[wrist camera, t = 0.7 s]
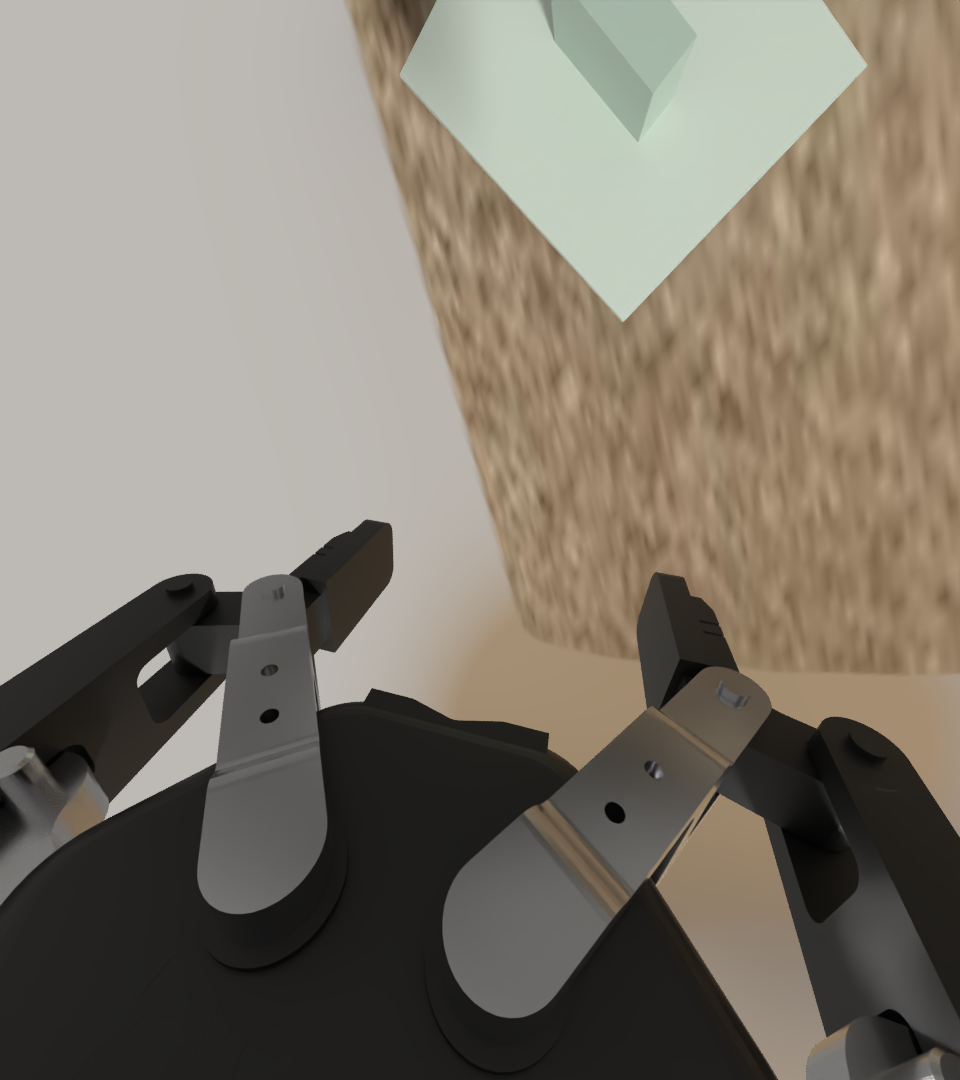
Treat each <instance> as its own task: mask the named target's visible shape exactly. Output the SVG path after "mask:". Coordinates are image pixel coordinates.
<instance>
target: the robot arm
mask: <svg viewBox="0 0 960 1080" xmlns="http://www.w3.org/2000/svg"><path fill="white" fill-rule="evenodd" d="M392 572H393V538H392V527H391V525H390V524H389V523H384V522H378V521H373V520H365V521H363V522H362V523H361V524H360V525H359V526H358V527H357V528H355V529H354V530H353V531H352V532H349V531H348V532H345V533H343V534H341V535H338V536H336V537H334V538H332V539H331V540H330V541H329V542H328V543H326V544H325V545H324V547H323V548H320V549H319V550H318V551H317V552H316V554H313V555H312V556H311V557H310V558H308V559H307V560H306V561H305V562H304V563H302V564H301V565H300V566H299V567H298V568H297V569H295V570H294V571H293V572H292V573H290V574H289V575H283V574H281V575H271V576H266V577H263V578H260V579H258V580H256V581H254V582H252V583H250V584H249V585H248V586H247V587H246V588H245V589H244V591H243V592H215V588H214V585H213V581H212V579H211V578H209V577H208V576H206V575H202V574H185V575H179V576H175V577H172V578H169V579H166V580H164V581H161V582H159V583H158V584H156V585H154V586H153V587H151V588H150V589H148V590H147V591H145V592H144V593H142V594H141V595H139V596H138V597H136V598H134V599H133V600H131V601H130V602H128V603H127V604H125V605H124V606H122V607H121V608H119V609H118V610H116V611H115V612H113V613H111V614H110V615H108V616H107V617H105V618H104V619H102V620H101V621H99V622H98V623H96V624H95V625H93V626H91V627H90V628H88V629H87V630H85V631H84V632H82V633H81V634H79V635H78V636H76V637H75V638H73V639H72V640H70V641H68V642H67V643H65V644H64V645H63V646H61V647H59V648H58V649H56V650H55V651H53V652H52V653H50V654H49V655H47V656H45V657H44V658H43V659H41V660H39V661H38V662H36V663H35V664H33V665H32V666H30V667H29V668H27V669H26V670H24V671H23V672H21V673H19V674H18V675H16V676H15V677H13V678H12V679H11V680H9V681H7V682H6V683H4V684H3V685H1V686H0V1080H778V1079H777V1077H776V1075H775V1074H774V1072H773V1070H772V1069H771V1067H770V1066H769V1064H768V1062H767V1061H766V1059H765V1057H764V1056H763V1054H762V1053H761V1051H760V1050H759V1048H758V1047H757V1045H756V1043H755V1042H754V1040H753V1039H752V1037H751V1035H750V1034H749V1032H748V1031H747V1029H746V1027H745V1026H744V1025H743V1023H742V1021H741V1020H740V1018H739V1017H738V1015H737V1013H736V1012H735V1010H734V1009H733V1007H732V1006H731V1004H730V1002H729V1001H728V999H727V998H726V996H725V995H724V993H723V991H722V990H721V988H720V986H719V985H718V983H717V982H716V980H715V979H714V977H713V975H712V974H711V972H710V971H709V969H708V968H707V966H706V964H705V963H704V961H703V960H702V958H701V956H700V955H699V953H698V952H697V950H696V949H695V947H694V945H693V944H692V942H691V941H690V939H689V938H688V936H687V934H686V933H685V931H684V930H683V928H682V927H681V925H680V923H679V922H678V920H677V919H676V917H675V916H674V914H673V913H672V911H671V909H670V908H669V906H668V904H667V903H666V901H665V900H664V898H663V897H662V895H661V894H660V892H659V890H658V889H657V886H658V884H659V883H660V882H661V880H662V879H663V877H664V876H665V874H666V873H667V871H668V870H669V868H670V867H671V865H672V864H673V862H674V860H675V859H676V857H677V856H678V854H679V853H680V851H681V850H682V849H683V847H684V846H685V844H686V843H687V841H688V840H689V839H690V837H691V836H692V834H693V833H694V832H695V830H696V829H697V827H698V826H699V824H700V823H701V822H702V820H703V819H704V817H705V816H706V815H707V813H708V812H709V810H710V809H711V808H712V806H713V805H714V803H715V802H716V801H717V799H718V798H719V796H720V795H723V796H725V797H727V798H728V799H730V800H732V801H734V802H736V803H738V804H739V805H741V806H743V807H745V808H747V809H749V810H751V811H752V812H754V813H756V814H758V815H760V816H762V817H763V818H764V820H765V824H766V827H767V831H768V834H769V838H770V841H771V845H772V848H773V852H774V855H775V859H776V862H777V866H778V869H779V873H780V876H781V880H782V883H783V887H784V890H785V893H786V897H787V901H788V904H789V908H790V911H791V915H792V918H793V921H794V925H795V929H796V932H797V935H798V939H799V942H800V946H801V949H802V953H803V957H804V960H805V963H806V966H807V970H808V974H809V977H810V981H811V984H812V987H813V991H814V995H815V998H816V1002H817V1005H818V1009H819V1012H820V1016H821V1019H822V1023H823V1026H824V1030H825V1033H826V1037H827V1038H826V1039H824V1040H822V1041H821V1042H819V1043H818V1044H816V1045H815V1046H814V1047H813V1048H812V1050H811V1051H810V1054H809V1056H808V1060H807V1065H806V1080H960V837H959V836H958V834H957V833H956V831H955V830H954V828H953V827H952V825H951V823H950V822H949V820H948V819H947V817H946V816H945V814H944V813H943V811H942V810H941V808H940V807H939V805H938V804H937V802H936V801H935V799H934V798H933V796H932V795H931V793H930V792H929V790H928V789H927V787H926V785H925V784H924V782H923V781H922V780H921V778H920V776H919V775H918V773H917V772H916V770H915V769H914V767H913V766H912V764H911V763H910V761H909V760H908V759H907V757H906V756H905V754H904V753H903V752H902V751H901V750H900V749H899V748H898V747H897V746H895V744H893V743H892V742H891V741H890V740H888V739H887V738H886V737H885V736H883V735H882V734H880V733H879V732H877V731H875V730H873V729H872V728H870V727H868V726H866V725H864V724H862V723H859V722H857V721H854V720H851V719H847V718H842V717H829V718H826V719H824V720H823V721H822V723H821V724H820V725H819V727H818V728H817V729H816V728H814V727H811V726H809V725H807V724H805V723H802V722H800V721H798V720H795V719H793V718H791V717H789V716H786V715H784V714H782V713H780V712H778V711H776V710H774V709H772V706H771V702H770V700H769V697H768V696H767V694H766V693H765V691H764V690H763V689H762V688H761V687H760V686H759V685H758V684H757V683H755V682H754V681H753V680H751V679H750V678H748V677H747V676H745V675H743V674H741V673H739V670H738V668H737V665H736V663H735V661H734V658H733V656H732V653H731V651H730V649H729V646H728V644H727V642H726V639H725V638H724V637H723V636H724V634H723V632H722V630H721V627H719V623H718V620H717V618H716V615H715V613H714V611H713V610H712V609H711V608H710V607H709V606H708V605H707V604H706V603H705V602H704V601H703V600H702V599H701V598H698V597H693V596H690V593H689V590H688V587H687V584H686V582H685V579H684V578H683V577H680V576H674V575H669V574H663V573H658V572H655V573H654V574H653V576H652V578H651V581H650V584H649V587H648V590H647V593H646V596H645V599H644V602H643V605H642V608H641V612H640V615H639V618H638V624H637V641H638V648H639V655H640V662H641V669H642V677H643V684H644V691H645V698H646V705H647V710H645V711H644V712H643V713H642V714H641V715H640V716H639V717H638V718H637V719H636V720H634V721H633V722H632V723H631V724H630V725H629V726H628V727H627V728H626V729H625V730H623V731H622V732H621V733H620V734H619V735H618V736H617V737H616V738H615V739H614V740H613V741H612V742H610V743H609V744H608V745H607V746H606V747H605V748H604V749H603V750H602V751H600V753H598V754H597V755H596V756H595V757H594V758H593V759H592V760H591V761H590V762H588V764H586V765H585V766H584V767H583V768H582V769H581V770H580V771H578V770H577V769H576V768H575V767H574V766H572V765H571V764H570V763H569V762H568V761H566V760H565V759H564V758H562V757H560V756H559V755H558V754H556V753H554V752H552V751H551V750H549V749H547V748H548V739H549V733H545V732H542V731H538V730H534V729H530V728H526V727H522V726H518V725H514V724H510V723H506V722H494V721H458V720H453V719H450V718H448V717H446V716H444V715H443V714H441V713H439V712H437V711H435V710H433V709H431V708H429V707H428V706H426V705H424V704H422V703H420V702H418V701H416V700H414V699H412V698H408V697H404V696H400V695H396V694H392V693H389V692H384V691H381V690H376V689H373V688H372V689H371V691H370V693H369V694H368V696H367V697H366V699H365V701H364V702H350V703H344V704H338V705H335V706H331V707H328V708H325V709H322V710H321V707H320V699H319V691H318V684H317V676H316V668H315V660H314V654H315V653H316V652H317V651H318V650H319V649H322V650H326V651H330V652H336V651H337V649H338V648H339V646H340V645H341V644H342V643H343V642H344V640H345V639H346V638H347V636H348V635H349V634H350V632H351V631H352V630H353V629H354V627H355V626H356V625H357V624H358V622H359V621H360V620H361V618H362V617H363V616H364V615H365V613H366V612H367V611H368V609H369V608H370V607H371V606H372V604H373V603H374V602H375V600H376V599H377V598H378V597H379V595H380V594H381V593H382V591H383V590H384V589H385V588H386V586H387V585H388V584H389V582H390V579H391V576H392ZM165 648H167V650H168V653H169V655H170V658H171V660H170V661H169V662H168V663H167V664H166V665H164V666H163V667H162V668H161V669H160V670H159V671H157V672H156V673H155V674H154V675H153V676H152V677H151V678H149V679H148V680H147V681H146V682H145V683H144V684H143V685H141V686H140V687H139V688H138V687H137V678H138V675H139V673H140V671H141V669H142V668H143V667H144V666H145V665H146V664H147V663H148V662H149V661H150V660H151V659H152V658H154V657H155V656H156V655H157V654H159V653H160V652H161V651H162V650H163V649H165ZM225 679H226V683H225V693H224V701H223V710H222V719H221V728H220V738H219V746H218V755H217V763H215V764H213V765H211V766H209V767H208V768H205V769H204V770H202V771H200V772H198V773H196V774H194V775H192V776H190V777H188V778H186V779H184V780H182V781H180V782H178V783H176V784H174V785H172V786H170V787H168V788H166V789H165V790H163V791H161V792H159V793H157V794H155V795H153V796H151V797H149V798H147V799H145V800H143V801H141V802H139V803H137V804H136V805H133V806H131V807H129V808H128V809H126V810H124V811H122V812H120V813H118V814H116V815H114V816H112V817H110V818H108V819H106V820H104V819H105V816H106V814H107V811H108V807H109V803H110V802H111V801H112V800H113V799H114V798H115V797H116V796H117V795H118V793H119V792H120V791H121V790H122V789H123V788H124V787H125V786H126V785H127V784H128V783H129V782H130V781H131V779H133V777H134V776H135V775H136V774H137V773H138V772H139V771H140V770H141V769H142V768H143V767H144V765H146V764H147V762H148V761H149V760H150V759H151V758H152V757H153V756H154V755H155V754H156V753H157V752H158V750H160V749H161V748H162V746H163V745H164V744H165V743H166V742H167V741H168V740H169V739H170V738H171V737H172V736H173V735H174V734H175V733H176V732H177V730H178V729H179V728H180V727H181V726H182V725H183V724H184V723H185V722H186V721H187V720H188V718H189V717H191V716H192V714H193V713H194V712H195V711H196V710H197V709H198V708H199V707H200V706H201V705H202V704H203V703H204V702H205V701H206V699H207V698H208V697H209V696H210V695H211V694H212V693H213V692H214V691H215V690H216V689H217V688H218V687H219V685H220V684H222V682H223V681H224V680H225ZM103 820H104V821H103Z"/></svg>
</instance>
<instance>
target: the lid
mask: <svg viewBox="0 0 960 1080" xmlns="http://www.w3.org/2000/svg"><path fill="white" fill-rule="evenodd" d="M866 67H867V64H866V63H865V61H864V60H863V58H862V57H861V55H860V54H859V53H858V51H857V50H856V48H855V47H854V45H853V44H852V43H851V41H850V40H849V38H848V37H847V35H846V34H845V32H844V31H843V30H842V28H841V27H840V25H839V24H838V22H837V21H836V19H835V18H834V17H833V15H832V14H831V12H830V11H829V9H828V8H827V6H826V5H825V4H824V2H823V1H822V0H437V1H436V3H435V5H434V7H433V9H432V11H431V13H430V15H429V17H428V19H427V21H426V23H425V25H424V27H423V29H422V31H421V33H420V35H419V37H418V39H417V41H416V43H415V45H414V47H413V49H412V51H411V53H410V55H409V57H408V59H407V61H406V63H405V65H404V67H403V69H402V71H401V73H400V75H399V76H400V77H401V78H402V80H403V81H404V83H405V84H406V85H407V86H408V88H409V89H410V90H411V91H412V92H413V93H414V94H415V95H416V96H417V97H418V99H419V100H420V101H421V102H422V103H423V104H424V105H425V106H426V107H427V108H428V110H429V111H430V112H431V113H432V114H433V115H434V116H435V117H436V118H437V119H438V121H439V122H440V123H441V124H442V125H443V126H444V127H445V128H446V129H447V130H448V132H449V133H450V134H451V135H452V136H453V137H454V138H455V139H456V140H457V141H458V143H459V144H460V145H461V146H462V147H463V148H464V149H465V150H466V151H467V152H468V154H469V155H470V156H471V157H472V158H473V159H474V160H475V161H476V162H477V164H478V165H479V166H480V167H481V168H482V169H483V170H484V171H485V172H486V173H487V175H488V176H489V177H490V178H491V179H492V180H493V181H494V182H495V183H496V184H497V186H498V187H499V188H500V189H501V190H502V191H503V192H504V193H505V194H506V195H507V197H508V198H509V199H510V200H511V201H512V202H513V203H514V204H515V205H516V206H517V208H518V209H519V210H520V211H521V212H522V213H523V214H524V215H525V216H526V217H527V219H528V220H529V221H530V222H531V223H532V224H533V225H534V226H535V227H536V228H537V230H538V231H539V232H540V233H541V234H542V235H543V236H544V237H545V238H546V239H547V241H548V242H549V243H550V244H551V245H552V246H553V247H554V248H555V249H556V250H557V252H558V253H559V254H560V255H561V256H562V257H563V258H564V259H565V260H566V261H567V263H568V264H569V265H570V266H571V267H572V268H573V269H574V270H575V271H576V272H577V274H578V275H579V276H580V277H581V278H582V279H583V280H584V281H585V282H586V283H587V285H588V286H589V287H590V288H591V289H592V290H593V291H594V292H595V293H596V294H597V296H598V297H599V298H600V299H601V300H602V301H603V302H604V303H605V304H606V305H607V307H608V308H609V309H610V310H611V311H612V312H613V313H614V314H615V315H616V317H617V318H618V319H619V320H620V321H621V322H624V321H625V320H626V319H627V318H628V317H629V316H630V314H631V313H632V312H633V311H634V310H635V309H636V308H637V307H638V306H639V305H640V304H641V303H642V302H643V301H644V300H645V299H646V298H647V297H648V296H649V295H650V293H651V292H652V291H653V290H654V289H655V288H656V287H657V286H658V285H659V284H660V283H661V282H662V281H663V280H664V279H665V278H666V277H667V276H668V275H669V274H670V273H671V271H672V270H673V269H674V268H675V267H676V266H677V265H678V264H679V263H680V262H681V261H682V260H683V259H684V258H685V257H686V256H687V255H688V254H689V253H690V252H691V250H692V249H693V248H694V247H695V246H696V245H697V244H698V243H699V242H700V241H701V240H702V239H703V238H704V237H705V236H706V235H707V234H708V233H709V232H710V231H711V229H712V228H713V227H714V226H715V225H716V224H717V223H718V222H719V221H720V220H721V219H722V218H723V217H724V216H725V215H726V214H727V213H728V212H729V211H730V210H731V208H732V207H733V206H734V205H735V204H736V203H737V202H738V201H739V200H740V199H741V198H742V197H743V196H744V195H745V194H746V193H747V192H748V191H749V190H750V189H751V187H752V186H753V185H754V184H755V183H756V182H757V181H758V180H759V179H760V178H761V177H762V176H763V175H764V174H765V173H766V172H767V171H768V170H769V169H770V168H771V166H772V165H773V164H774V163H775V162H776V161H777V160H778V159H779V158H780V157H781V156H782V155H783V154H784V153H785V152H786V151H787V150H788V149H789V148H790V147H791V145H792V144H793V143H794V142H795V141H796V140H797V139H798V138H799V137H800V136H801V135H802V134H803V133H804V132H805V131H806V130H807V129H808V128H809V127H810V126H811V125H812V123H813V122H814V121H815V120H816V119H817V118H818V117H819V116H820V115H821V114H822V113H823V112H824V111H825V110H826V109H827V108H828V107H829V106H830V105H831V104H832V102H833V101H834V100H835V99H836V98H837V97H838V96H839V95H840V94H841V93H842V92H843V91H844V90H845V89H846V88H847V87H848V86H849V85H850V84H851V83H852V81H853V80H854V79H855V78H856V77H857V76H858V75H859V74H860V73H861V72H862V71H863V70H864V69H865V68H866Z"/></svg>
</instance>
